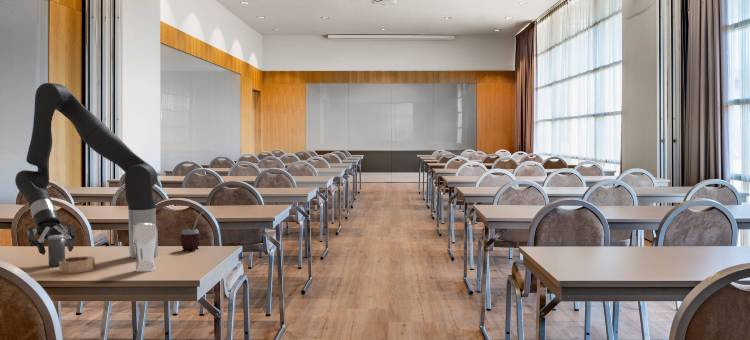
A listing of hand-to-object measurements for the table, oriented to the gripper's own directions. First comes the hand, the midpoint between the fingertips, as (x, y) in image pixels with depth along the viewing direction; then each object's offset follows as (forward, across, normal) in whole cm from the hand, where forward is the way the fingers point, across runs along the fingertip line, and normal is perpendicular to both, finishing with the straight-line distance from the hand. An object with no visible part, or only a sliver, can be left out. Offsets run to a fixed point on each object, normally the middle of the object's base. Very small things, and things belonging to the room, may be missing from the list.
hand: (57, 251), depth 207 cm
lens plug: (+3, 0, +4) cm, 5 cm away
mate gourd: (+9, +45, -2) cm, 46 cm away
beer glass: (+24, +16, -18) cm, 34 cm away
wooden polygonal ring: (+12, +2, -5) cm, 13 cm away
